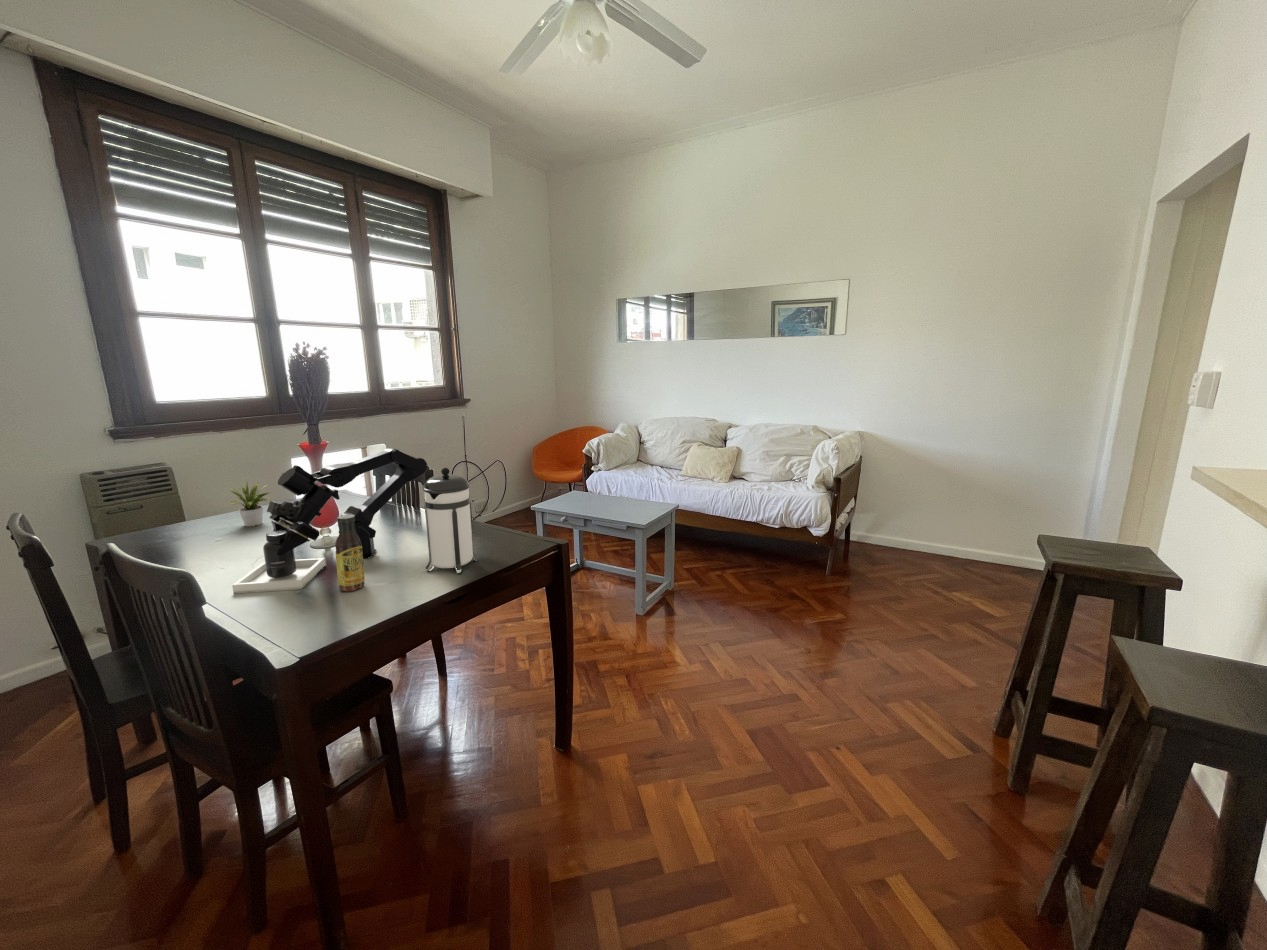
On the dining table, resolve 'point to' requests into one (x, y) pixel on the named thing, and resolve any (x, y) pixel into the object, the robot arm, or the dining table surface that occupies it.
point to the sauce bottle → (349, 555)
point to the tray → (263, 583)
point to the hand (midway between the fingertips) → (273, 552)
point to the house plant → (251, 505)
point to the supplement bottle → (274, 562)
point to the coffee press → (448, 520)
